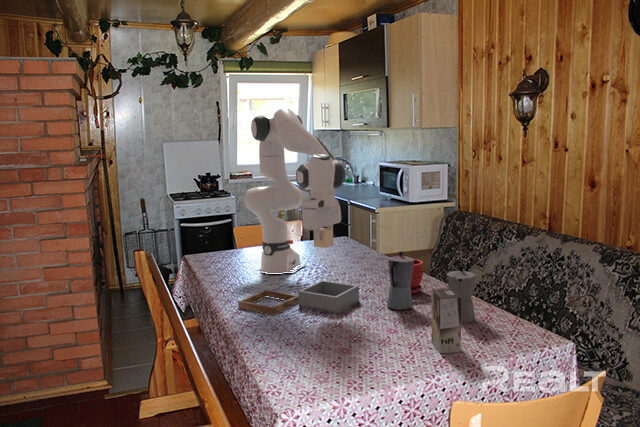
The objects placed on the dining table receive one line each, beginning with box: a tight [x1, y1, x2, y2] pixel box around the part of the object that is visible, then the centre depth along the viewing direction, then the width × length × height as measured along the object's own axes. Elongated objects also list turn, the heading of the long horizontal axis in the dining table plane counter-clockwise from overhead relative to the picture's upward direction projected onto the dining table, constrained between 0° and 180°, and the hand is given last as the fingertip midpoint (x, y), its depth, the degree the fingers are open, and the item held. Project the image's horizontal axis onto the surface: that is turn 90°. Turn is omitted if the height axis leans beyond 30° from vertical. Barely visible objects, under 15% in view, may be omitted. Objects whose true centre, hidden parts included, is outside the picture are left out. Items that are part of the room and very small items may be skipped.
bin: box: [297, 280, 360, 315], centre depth 196 cm, size 16×16×6 cm
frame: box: [237, 289, 299, 316], centre depth 197 cm, size 16×16×2 cm
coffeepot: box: [446, 265, 477, 324], centre depth 178 cm, size 15×9×18 cm, turn 162°
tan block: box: [313, 227, 334, 249], centre depth 192 cm, size 5×5×6 cm
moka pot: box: [386, 251, 414, 311], centre depth 190 cm, size 10×15×20 cm, turn 155°
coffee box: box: [431, 288, 462, 354], centre depth 154 cm, size 9×6×16 cm
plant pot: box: [410, 258, 424, 295], centre depth 209 cm, size 13×13×12 cm
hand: (323, 238), depth 193 cm, fingers closed on tan block, 5 cm apart
